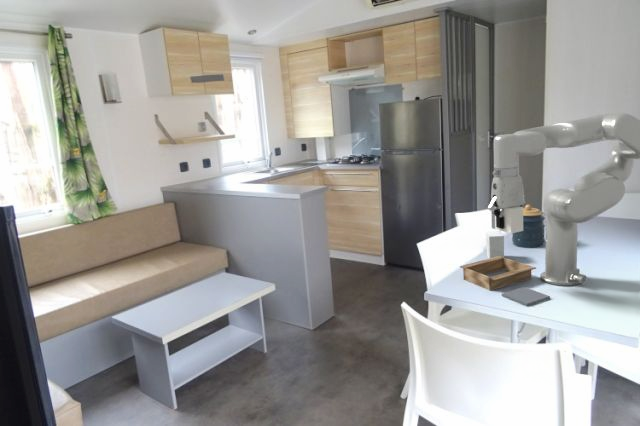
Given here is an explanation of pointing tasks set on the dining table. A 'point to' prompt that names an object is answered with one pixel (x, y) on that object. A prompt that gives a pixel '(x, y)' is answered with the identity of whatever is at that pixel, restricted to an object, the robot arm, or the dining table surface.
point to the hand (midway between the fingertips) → (507, 225)
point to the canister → (530, 229)
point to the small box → (495, 244)
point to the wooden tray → (478, 269)
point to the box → (510, 220)
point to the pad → (525, 296)
